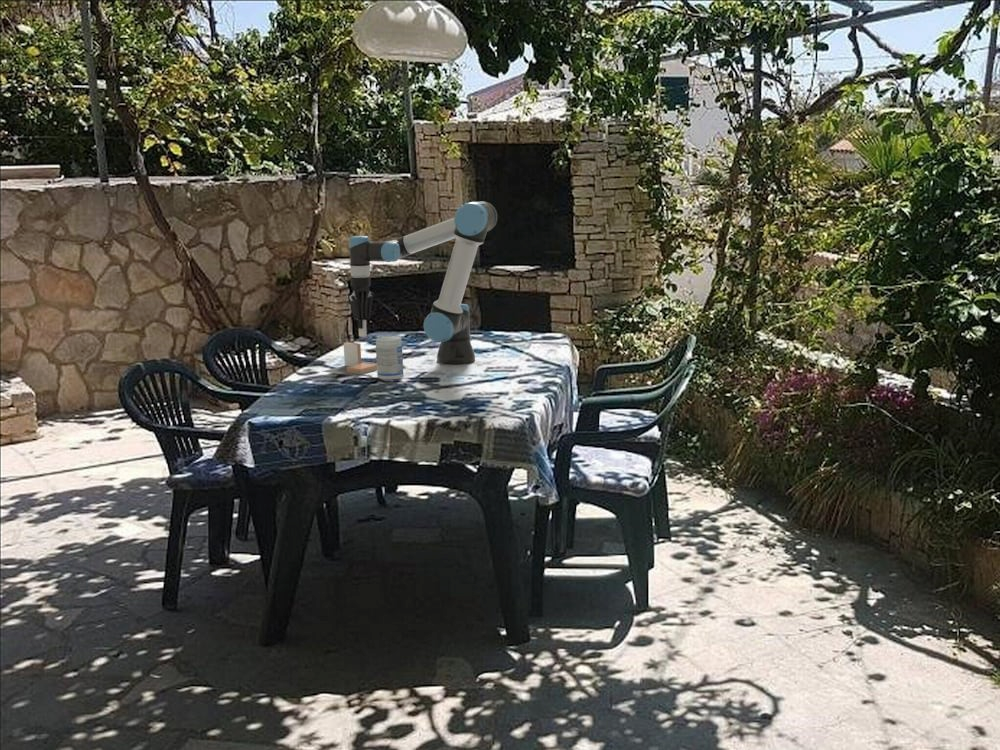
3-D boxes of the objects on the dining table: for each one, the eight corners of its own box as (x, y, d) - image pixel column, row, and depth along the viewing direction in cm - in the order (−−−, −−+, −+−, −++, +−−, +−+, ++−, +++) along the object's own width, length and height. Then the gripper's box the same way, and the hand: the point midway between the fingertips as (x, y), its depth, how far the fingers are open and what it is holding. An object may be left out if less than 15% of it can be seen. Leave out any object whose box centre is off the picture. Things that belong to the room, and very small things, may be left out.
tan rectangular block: (376, 364, 335) (360, 369, 327) (376, 369, 335) (361, 374, 328) (362, 363, 338) (346, 367, 331) (362, 368, 339) (346, 372, 331)
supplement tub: (405, 379, 319) (403, 339, 316) (378, 381, 317) (376, 341, 314) (401, 374, 328) (400, 335, 325) (376, 375, 326) (374, 336, 323)
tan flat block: (361, 366, 342) (360, 343, 340) (358, 367, 340) (356, 344, 338) (348, 364, 345) (346, 342, 344) (344, 365, 344) (343, 343, 342)
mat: (394, 366, 343) (394, 365, 343) (356, 377, 325) (356, 376, 325) (361, 362, 352) (361, 361, 352) (322, 372, 334) (322, 371, 334)
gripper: (364, 274, 349) (366, 333, 354) (341, 277, 338) (344, 338, 343) (378, 275, 345) (380, 334, 350) (356, 278, 334) (358, 339, 339)
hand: (362, 336), depth 346 cm, fingers closed
